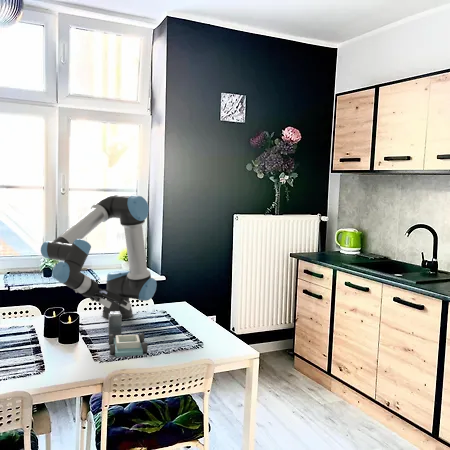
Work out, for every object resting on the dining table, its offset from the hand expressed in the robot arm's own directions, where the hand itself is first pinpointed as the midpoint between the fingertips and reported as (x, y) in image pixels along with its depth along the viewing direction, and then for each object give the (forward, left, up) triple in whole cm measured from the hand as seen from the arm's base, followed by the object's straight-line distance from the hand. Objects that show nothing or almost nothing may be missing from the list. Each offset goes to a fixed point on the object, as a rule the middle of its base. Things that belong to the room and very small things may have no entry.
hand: (119, 306), depth 213 cm
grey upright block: (-4, +2, -14) cm, 14 cm away
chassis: (+10, -11, -14) cm, 20 cm away
